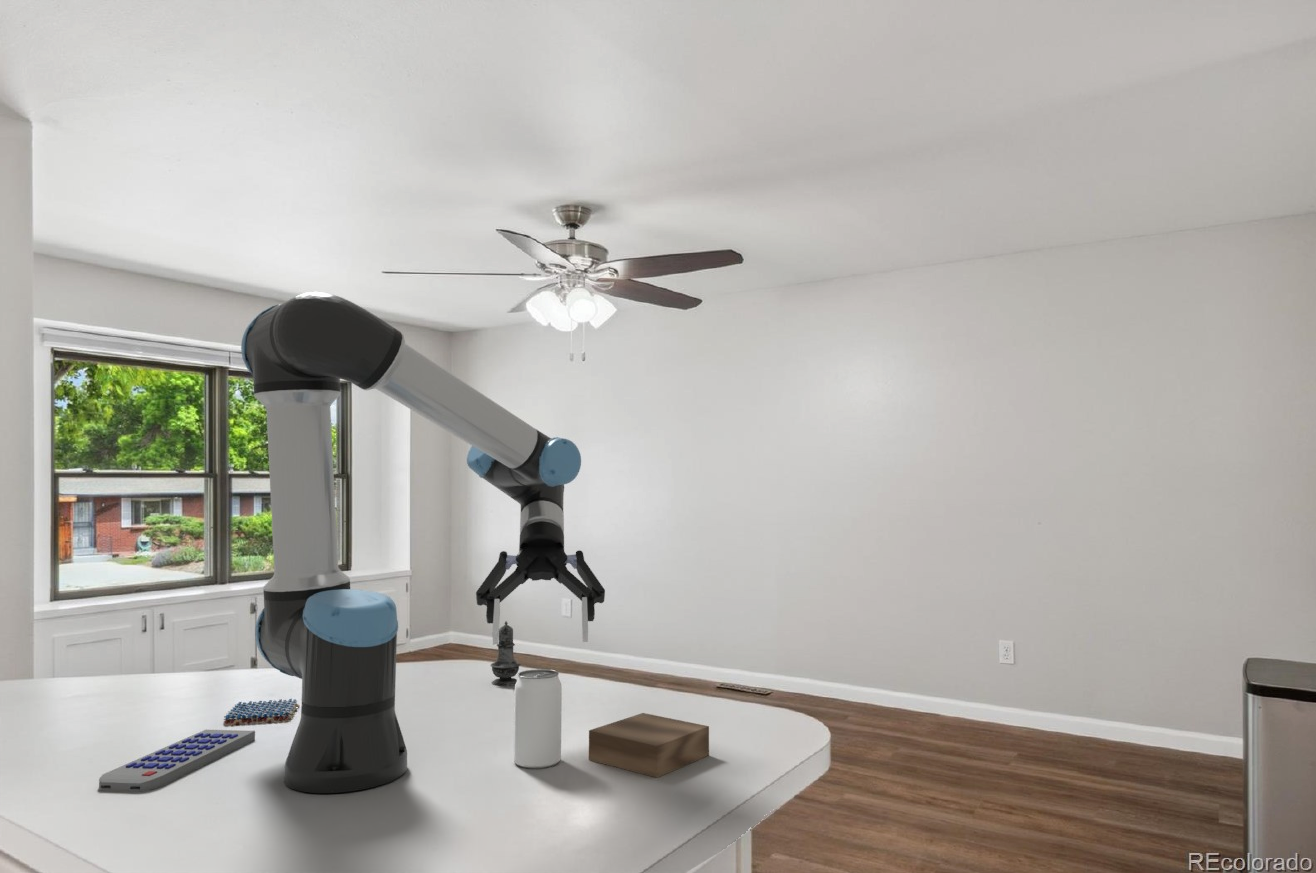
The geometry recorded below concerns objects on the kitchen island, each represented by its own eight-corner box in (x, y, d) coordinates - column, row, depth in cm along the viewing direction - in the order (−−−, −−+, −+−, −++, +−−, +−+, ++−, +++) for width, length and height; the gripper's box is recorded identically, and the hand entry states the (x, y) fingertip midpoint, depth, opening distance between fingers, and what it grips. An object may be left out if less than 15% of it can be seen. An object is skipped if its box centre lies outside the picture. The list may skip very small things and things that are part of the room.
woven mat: (219, 730, 132) (220, 716, 132) (234, 713, 142) (235, 701, 143) (290, 725, 135) (291, 712, 135) (300, 709, 145) (300, 697, 145)
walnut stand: (657, 777, 108) (657, 746, 108) (588, 759, 115) (589, 730, 116) (709, 755, 118) (708, 726, 118) (642, 740, 125) (642, 712, 125)
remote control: (255, 744, 125) (255, 728, 125) (149, 796, 103) (150, 777, 103) (205, 742, 126) (206, 727, 126) (89, 793, 103) (90, 775, 104)
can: (503, 765, 113) (505, 675, 114) (532, 752, 119) (533, 667, 120) (542, 772, 110) (543, 680, 111) (570, 759, 116) (570, 671, 117)
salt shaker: (523, 679, 167) (524, 619, 167) (515, 686, 161) (516, 623, 162) (495, 679, 167) (496, 618, 168) (486, 685, 161) (487, 623, 162)
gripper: (613, 547, 146) (620, 650, 131) (468, 549, 143) (458, 654, 127) (615, 518, 142) (623, 620, 126) (466, 519, 138) (455, 624, 122)
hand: (540, 638), depth 126 cm, fingers open, 13 cm apart
